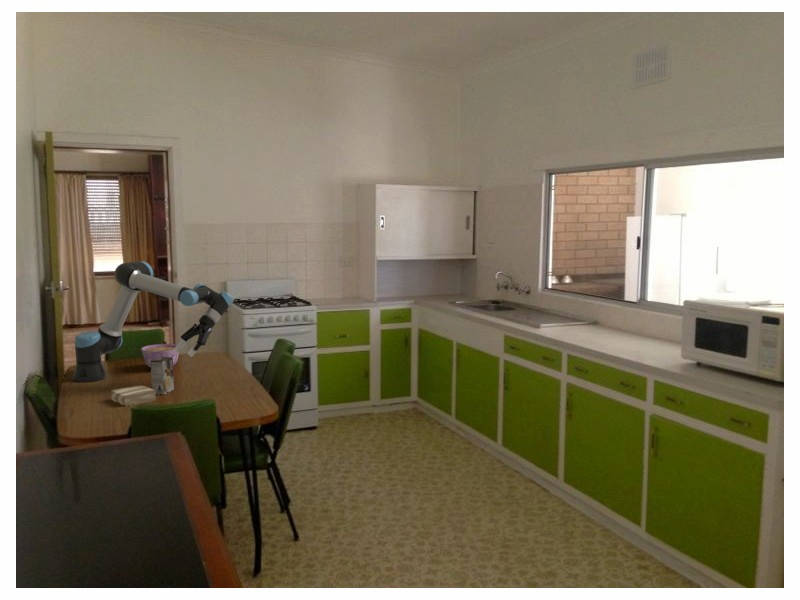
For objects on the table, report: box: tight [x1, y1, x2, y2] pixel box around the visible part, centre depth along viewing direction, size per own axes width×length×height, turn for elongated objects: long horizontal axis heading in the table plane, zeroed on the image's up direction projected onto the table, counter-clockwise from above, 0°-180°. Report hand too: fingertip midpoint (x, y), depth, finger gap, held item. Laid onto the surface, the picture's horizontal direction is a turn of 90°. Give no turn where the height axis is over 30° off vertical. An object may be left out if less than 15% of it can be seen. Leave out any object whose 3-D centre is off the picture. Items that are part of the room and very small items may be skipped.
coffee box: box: [150, 357, 175, 395], centre depth 316 cm, size 9×6×16 cm
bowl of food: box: [140, 343, 180, 368], centre depth 365 cm, size 20×20×12 cm
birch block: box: [110, 384, 157, 407], centre depth 303 cm, size 14×14×5 cm
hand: (182, 353), depth 322 cm, fingers open, 13 cm apart
